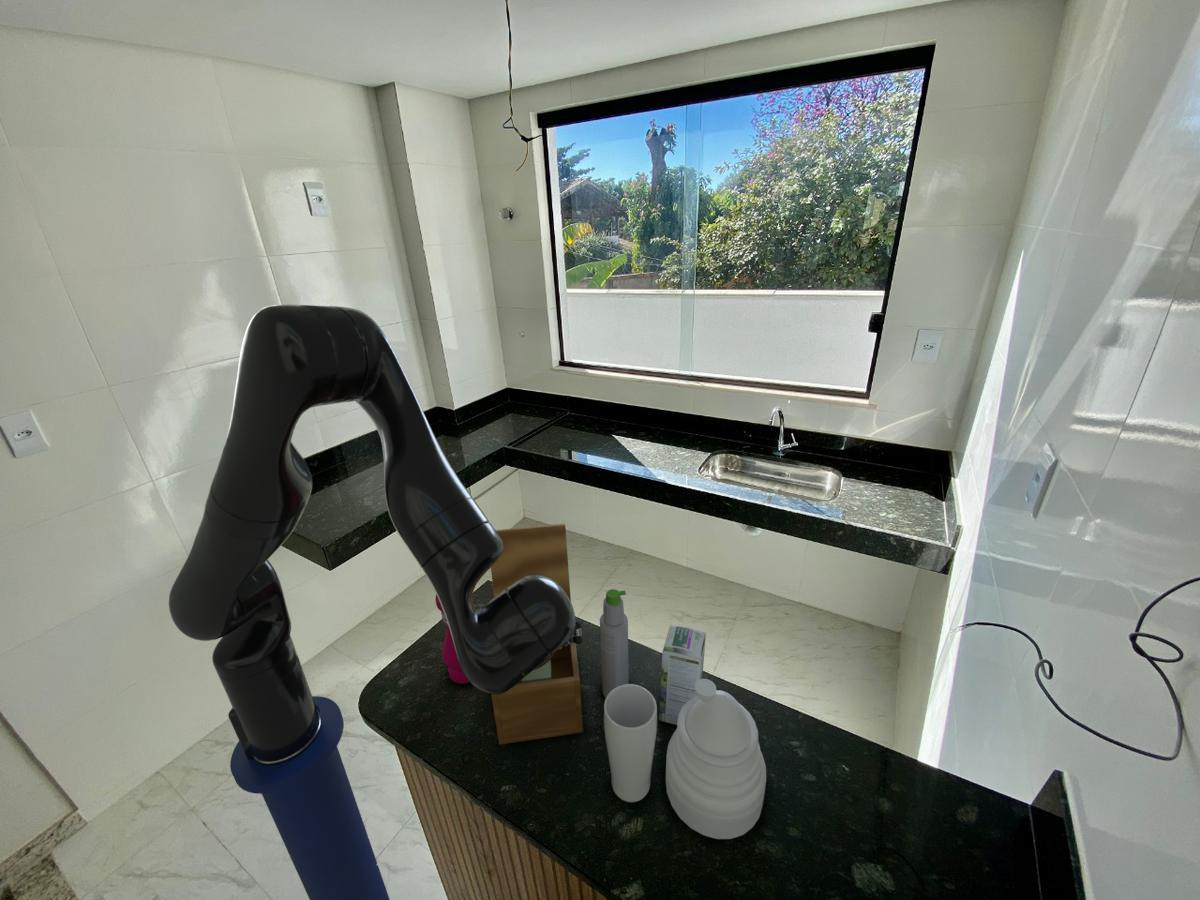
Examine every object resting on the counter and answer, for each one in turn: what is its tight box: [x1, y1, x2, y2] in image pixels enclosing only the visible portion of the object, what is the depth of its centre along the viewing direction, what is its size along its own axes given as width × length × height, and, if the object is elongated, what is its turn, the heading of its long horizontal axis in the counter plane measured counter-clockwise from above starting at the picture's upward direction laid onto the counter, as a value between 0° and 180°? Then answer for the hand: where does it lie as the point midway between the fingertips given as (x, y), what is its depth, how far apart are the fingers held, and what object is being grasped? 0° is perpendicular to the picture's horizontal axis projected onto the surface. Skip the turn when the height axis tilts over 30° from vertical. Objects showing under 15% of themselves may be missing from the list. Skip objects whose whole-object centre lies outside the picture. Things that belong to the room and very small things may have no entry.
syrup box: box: [658, 624, 707, 726], centre depth 74 cm, size 6×6×14 cm
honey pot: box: [665, 678, 767, 840], centre depth 62 cm, size 13×13×18 cm
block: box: [522, 659, 552, 683], centre depth 76 cm, size 4×4×8 cm
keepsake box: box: [490, 643, 584, 745], centre depth 78 cm, size 15×13×11 cm
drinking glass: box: [603, 683, 658, 803], centre depth 63 cm, size 7×7×15 cm
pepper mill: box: [434, 593, 475, 685], centre depth 82 cm, size 7×7×20 cm
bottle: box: [599, 588, 630, 699], centre depth 77 cm, size 4×4×20 cm
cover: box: [490, 523, 572, 602], centre depth 80 cm, size 15×13×1 cm
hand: (533, 640), depth 73 cm, fingers open, 8 cm apart
